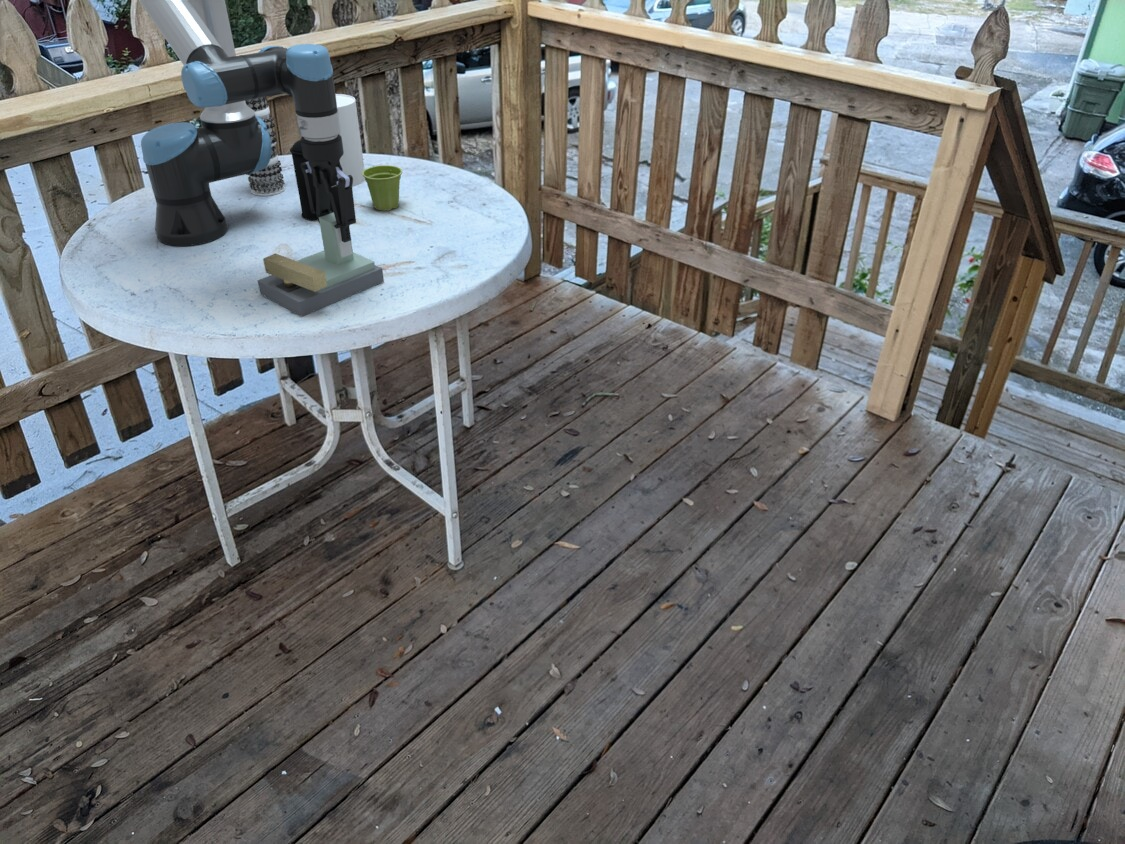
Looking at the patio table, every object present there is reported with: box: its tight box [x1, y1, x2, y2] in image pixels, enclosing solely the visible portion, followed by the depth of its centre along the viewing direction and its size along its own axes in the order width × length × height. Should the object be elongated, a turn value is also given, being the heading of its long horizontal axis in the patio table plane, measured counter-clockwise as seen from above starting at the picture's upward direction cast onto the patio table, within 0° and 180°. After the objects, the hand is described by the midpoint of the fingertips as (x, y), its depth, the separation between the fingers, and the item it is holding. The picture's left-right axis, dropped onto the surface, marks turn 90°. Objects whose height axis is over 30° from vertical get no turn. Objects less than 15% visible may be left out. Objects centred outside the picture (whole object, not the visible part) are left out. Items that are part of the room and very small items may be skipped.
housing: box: [257, 264, 385, 317], centre depth 172 cm, size 14×20×3 cm
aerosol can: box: [289, 139, 334, 221], centre depth 199 cm, size 8×8×20 cm
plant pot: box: [362, 164, 403, 211], centre depth 207 cm, size 9×9×9 cm
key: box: [262, 253, 327, 292], centre depth 164 cm, size 3×14×5 cm, turn 55°
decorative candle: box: [245, 97, 286, 197], centre depth 210 cm, size 9×9×25 cm
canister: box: [332, 93, 366, 187], centre depth 218 cm, size 14×14×20 cm
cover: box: [296, 212, 376, 290], centre depth 170 cm, size 12×13×10 cm
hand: (338, 251), depth 172 cm, fingers closed on cover, 4 cm apart
